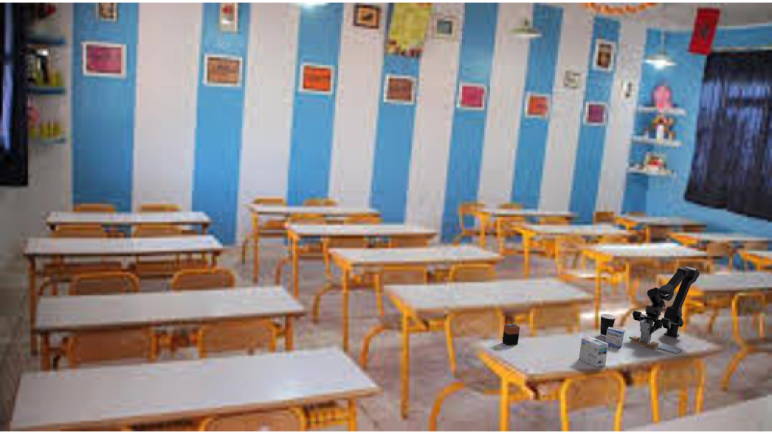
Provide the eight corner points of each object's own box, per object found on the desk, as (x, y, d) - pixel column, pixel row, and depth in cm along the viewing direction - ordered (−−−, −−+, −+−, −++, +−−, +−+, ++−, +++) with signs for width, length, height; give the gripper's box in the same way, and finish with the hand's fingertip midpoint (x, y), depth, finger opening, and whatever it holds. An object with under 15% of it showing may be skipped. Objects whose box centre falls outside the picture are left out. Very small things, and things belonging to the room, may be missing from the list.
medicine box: (604, 344, 333) (607, 328, 332) (606, 342, 337) (608, 326, 336) (620, 348, 330) (623, 332, 328) (622, 346, 334) (624, 329, 332)
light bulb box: (605, 365, 304) (609, 343, 302) (596, 367, 301) (599, 345, 299) (587, 357, 313) (590, 335, 311) (578, 359, 309) (581, 337, 308)
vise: (631, 338, 346) (631, 334, 346) (657, 346, 337) (658, 342, 337) (626, 341, 342) (627, 336, 341) (653, 349, 333) (654, 344, 332)
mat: (663, 345, 341) (664, 343, 341) (681, 350, 335) (682, 348, 335) (657, 348, 334) (658, 347, 334) (676, 354, 328) (676, 352, 328)
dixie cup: (595, 335, 346) (598, 315, 344) (599, 332, 353) (602, 312, 351) (611, 339, 342) (614, 319, 340) (614, 335, 349) (617, 316, 347)
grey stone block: (642, 342, 342) (645, 318, 340) (649, 344, 339) (653, 320, 337) (636, 345, 336) (640, 321, 334) (644, 348, 333) (648, 323, 331)
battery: (501, 342, 323) (504, 323, 321) (512, 341, 326) (515, 322, 324) (506, 345, 319) (509, 326, 317) (518, 344, 322) (520, 325, 320)
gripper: (636, 295, 344) (625, 319, 338) (672, 304, 332) (661, 329, 326) (639, 307, 351) (628, 331, 345) (675, 316, 339) (664, 341, 333)
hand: (645, 332), depth 337 cm, fingers open, 4 cm apart
